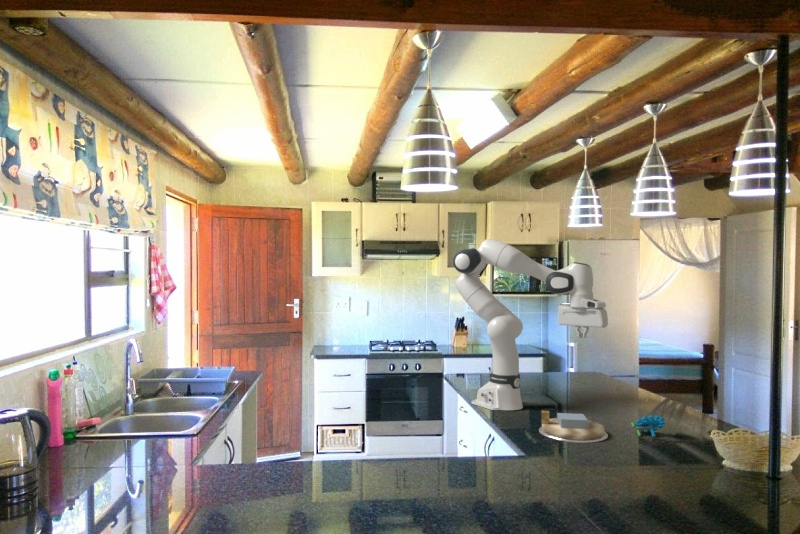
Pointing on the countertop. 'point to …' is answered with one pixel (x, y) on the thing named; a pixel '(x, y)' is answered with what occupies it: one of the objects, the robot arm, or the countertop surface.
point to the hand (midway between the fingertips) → (582, 337)
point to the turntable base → (573, 439)
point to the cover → (572, 420)
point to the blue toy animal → (648, 424)
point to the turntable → (571, 429)
